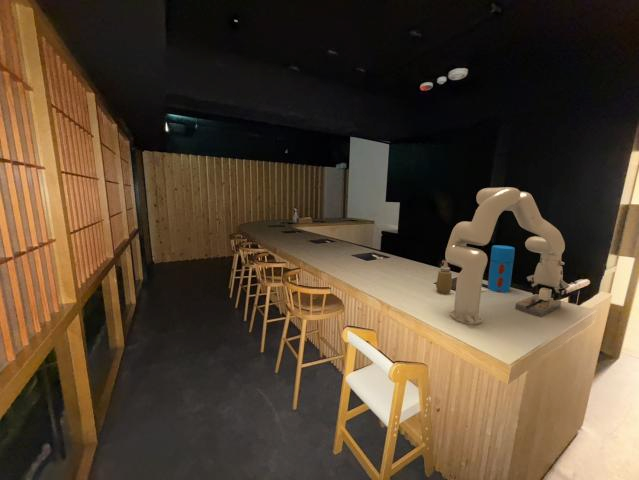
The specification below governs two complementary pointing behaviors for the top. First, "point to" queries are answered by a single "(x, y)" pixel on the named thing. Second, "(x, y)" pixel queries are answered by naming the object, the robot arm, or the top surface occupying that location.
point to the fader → (545, 294)
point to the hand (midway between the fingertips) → (544, 296)
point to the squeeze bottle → (444, 280)
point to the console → (537, 306)
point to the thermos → (501, 268)
